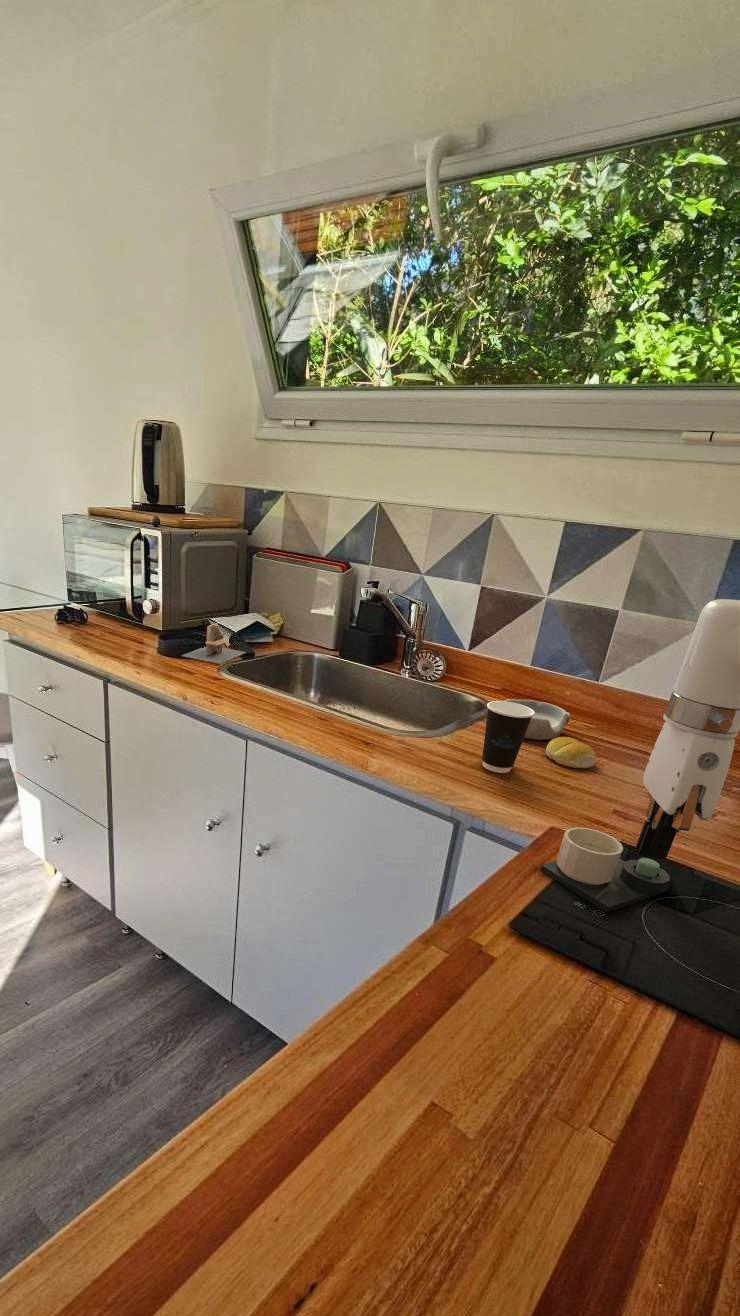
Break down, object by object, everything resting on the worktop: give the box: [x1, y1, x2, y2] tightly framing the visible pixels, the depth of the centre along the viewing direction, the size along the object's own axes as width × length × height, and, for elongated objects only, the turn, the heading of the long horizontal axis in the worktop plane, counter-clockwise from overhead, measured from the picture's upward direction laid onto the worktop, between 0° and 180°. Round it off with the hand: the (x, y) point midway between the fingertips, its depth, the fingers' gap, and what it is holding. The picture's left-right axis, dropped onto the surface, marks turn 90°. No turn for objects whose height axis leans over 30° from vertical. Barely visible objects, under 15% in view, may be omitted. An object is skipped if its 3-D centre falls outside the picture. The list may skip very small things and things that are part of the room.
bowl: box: [555, 827, 624, 885], centre depth 84 cm, size 7×7×5 cm
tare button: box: [636, 857, 661, 878], centre depth 83 cm, size 2×2×2 cm
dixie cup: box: [481, 700, 535, 774], centre depth 115 cm, size 8×8×11 cm
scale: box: [539, 858, 671, 914], centre depth 84 cm, size 12×11×2 cm
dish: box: [504, 699, 571, 741], centre depth 137 cm, size 14×14×5 cm
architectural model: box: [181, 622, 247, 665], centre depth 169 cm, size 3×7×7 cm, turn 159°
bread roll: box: [545, 736, 598, 769], centre depth 124 cm, size 8×9×4 cm
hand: (650, 853), depth 82 cm, fingers closed
